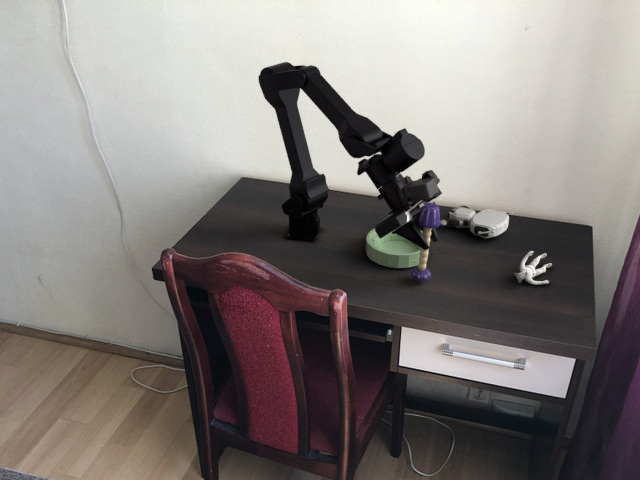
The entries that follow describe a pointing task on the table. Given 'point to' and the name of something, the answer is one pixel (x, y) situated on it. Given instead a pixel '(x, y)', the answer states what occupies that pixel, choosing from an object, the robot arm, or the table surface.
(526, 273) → the white figurine
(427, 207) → the toy lamp
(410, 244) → the bowl
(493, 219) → the robot toy
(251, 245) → the table surface
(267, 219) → the table surface
